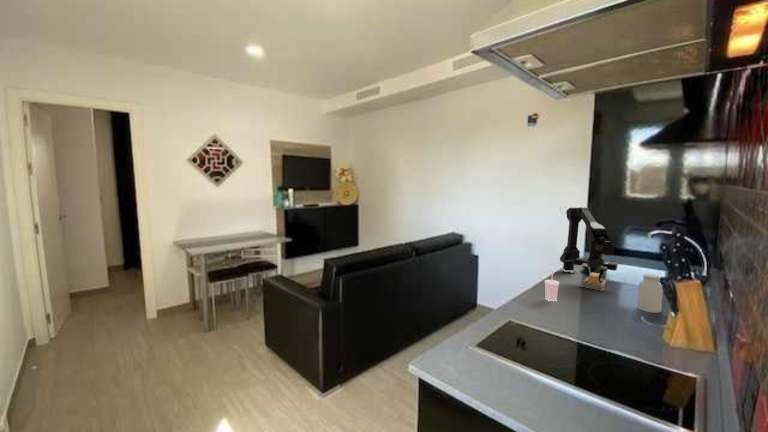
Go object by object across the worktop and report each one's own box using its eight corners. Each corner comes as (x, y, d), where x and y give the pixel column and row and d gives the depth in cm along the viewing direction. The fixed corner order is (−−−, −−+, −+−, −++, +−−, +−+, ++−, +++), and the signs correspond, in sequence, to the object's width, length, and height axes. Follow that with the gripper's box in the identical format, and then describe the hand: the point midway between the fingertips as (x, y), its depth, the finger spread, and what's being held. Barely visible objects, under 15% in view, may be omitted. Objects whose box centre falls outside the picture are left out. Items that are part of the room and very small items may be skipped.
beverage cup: (540, 299, 154) (542, 269, 152) (550, 297, 156) (551, 268, 155) (551, 303, 148) (553, 273, 147) (561, 301, 151) (563, 271, 149)
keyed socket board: (585, 280, 183) (585, 276, 182) (607, 284, 176) (607, 280, 176) (580, 287, 171) (580, 283, 171) (602, 291, 164) (603, 287, 164)
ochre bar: (597, 284, 169) (597, 276, 169) (588, 282, 172) (588, 275, 171) (599, 280, 175) (600, 273, 175) (591, 279, 178) (591, 272, 177)
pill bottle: (639, 305, 146) (642, 272, 145) (663, 310, 140) (666, 276, 139) (634, 309, 141) (637, 275, 140) (658, 315, 135) (661, 279, 134)
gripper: (572, 251, 172) (570, 280, 173) (616, 256, 159) (613, 287, 161) (577, 247, 180) (575, 275, 182) (618, 252, 168) (616, 282, 169)
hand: (594, 280), depth 173 cm, fingers closed on ochre bar, 4 cm apart
